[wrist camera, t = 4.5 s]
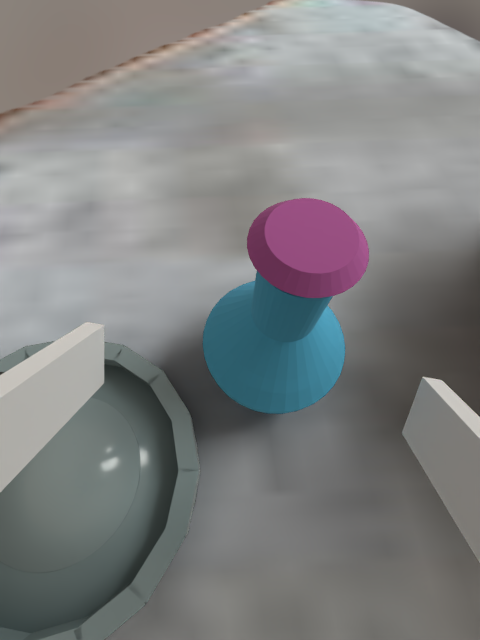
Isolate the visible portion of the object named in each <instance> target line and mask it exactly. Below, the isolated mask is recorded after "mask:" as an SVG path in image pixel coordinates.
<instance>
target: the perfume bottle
mask: <svg viewBox="0 0 480 640" xmlns="http://www.w3.org/2000/svg"><path fill="white" fill-rule="evenodd" d="M247 249H248V253H249V257H250V259H251V261H252V263H253V265H254V267H255V268H256V270H257V273H256V280H255V281H252V282H249V283H246V284H243V285H241V286H239V287H237V288H235V289H233V290H231V291H230V292H229V293H227V294H226V295H225V296H224V297H222V298H221V299H220V300H219V302H218V303H217V304H216V305H215V306H214V308H213V309H212V311H211V313H210V315H209V317H208V319H207V321H206V325H205V328H204V332H203V350H204V357H205V360H206V363H207V366H208V368H209V371H210V373H211V375H212V376H213V378H214V379H215V381H216V383H217V384H218V386H219V387H220V388H221V389H222V390H223V391H224V392H225V393H226V394H227V395H228V396H229V397H230V398H231V399H233V400H234V401H236V402H237V403H239V404H240V405H242V406H245V407H247V408H249V409H251V410H254V411H258V412H263V413H267V414H284V413H289V412H294V411H298V410H300V409H303V408H305V407H308V406H310V405H312V404H314V403H315V402H317V401H318V400H320V399H321V398H322V397H324V396H325V395H326V394H327V393H328V392H329V391H330V389H331V388H332V387H333V386H334V385H335V383H336V381H337V379H338V377H339V376H340V374H341V371H342V367H343V364H344V358H345V343H344V336H343V333H342V330H341V327H340V324H339V322H338V320H337V318H336V317H335V315H334V313H333V312H332V310H331V309H330V308H329V307H328V306H327V305H328V303H329V302H330V300H331V298H332V297H333V296H334V295H337V294H340V293H343V292H345V291H346V290H348V289H349V288H351V287H353V286H354V285H355V284H356V283H357V282H358V281H359V280H360V279H361V277H362V276H363V274H364V272H365V271H366V268H367V265H368V261H369V249H368V244H367V241H366V238H365V236H364V234H363V232H362V231H361V229H360V228H359V226H358V225H357V224H356V223H355V222H354V221H353V220H352V219H351V218H350V217H349V216H348V215H347V214H346V213H345V212H344V211H342V210H341V209H340V208H338V207H337V206H335V205H333V204H331V203H328V202H325V201H322V200H317V199H310V198H302V199H294V200H288V201H284V202H280V203H277V204H275V205H273V206H271V207H269V208H267V209H266V210H264V211H263V212H262V213H260V214H259V216H258V217H257V218H256V219H255V220H254V222H253V223H252V225H251V227H250V229H249V233H248V237H247Z"/></svg>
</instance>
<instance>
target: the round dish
mask: <svg viewBox="0 0 480 640" xmlns="http://www.w3.org/2000/svg"><path fill="white" fill-rule="evenodd" d="M53 342H55V341H52V342H47V343H42V344H36V345H31V346H26V347H23V348H21V349H19V350H17V351H16V352H14V353H12V354H10V355H8V356H6V357H4V358H3V359H1V360H0V372H6V371H8V370H10V369H11V368H13V367H14V366H16V365H18V364H19V363H21V362H23V361H24V360H26V359H27V358H29V357H31V356H32V355H34V354H36V353H37V352H39V351H40V350H42V349H44V348H45V347H47V346H48V345H50V344H52V343H53ZM199 470H200V463H199V457H198V448H197V441H196V437H195V432H194V427H193V421H192V416H191V414H190V413H189V411H188V409H187V408H186V406H185V405H184V403H183V402H182V400H181V398H180V397H179V395H178V394H177V392H176V390H175V389H174V387H173V386H172V384H171V383H170V381H169V379H168V378H167V376H166V375H165V373H164V371H163V370H161V369H159V368H158V367H156V366H155V365H153V364H152V363H150V362H149V361H147V360H146V359H144V358H143V357H141V356H140V355H138V354H137V353H135V352H133V351H132V350H130V349H129V348H127V347H126V346H124V345H120V344H114V343H109V342H104V384H103V385H102V386H101V387H100V388H99V389H98V390H97V391H96V392H95V393H94V394H93V395H92V396H91V397H90V398H89V400H88V401H87V402H86V403H85V404H84V405H83V406H82V407H81V408H80V409H79V410H78V411H77V412H76V413H75V414H74V415H73V416H72V417H71V419H70V420H69V421H68V422H67V423H66V424H65V425H64V426H63V427H62V428H61V429H60V430H59V431H58V432H57V433H56V434H55V435H54V436H53V437H52V439H51V440H50V441H49V442H48V443H47V444H46V445H45V446H44V447H43V448H42V449H41V450H40V451H39V452H38V453H37V454H36V455H35V456H34V458H33V459H32V460H31V461H30V462H29V463H28V464H27V465H26V466H25V467H24V468H23V469H22V470H21V471H20V472H19V473H18V474H17V475H16V477H15V478H14V479H13V480H12V481H11V482H10V483H9V484H8V485H7V486H6V487H5V488H4V489H3V490H2V491H1V492H0V640H105V639H106V638H107V637H108V636H109V635H110V634H112V633H113V632H114V631H115V630H116V629H118V628H119V627H120V626H121V625H122V624H123V623H125V622H126V621H127V620H128V619H129V618H131V617H132V616H133V615H134V614H135V613H136V612H138V611H139V610H140V609H141V608H142V607H144V606H145V605H146V603H147V602H148V600H149V599H150V597H151V595H152V594H153V592H154V590H155V589H156V587H157V585H158V584H159V582H160V580H161V578H162V577H163V575H164V573H165V572H166V570H167V568H168V566H169V565H170V563H171V562H172V560H173V558H174V556H175V554H176V553H177V551H178V549H179V548H180V546H181V544H182V543H183V541H184V539H185V537H186V536H187V534H188V532H189V527H190V522H191V517H192V512H193V508H194V505H195V501H196V494H197V487H198V481H199V476H200V471H199Z"/></svg>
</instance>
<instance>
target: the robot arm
mask: <svg viewBox="0 0 480 640" xmlns="http://www.w3.org/2000/svg"><path fill="white" fill-rule="evenodd" d="M103 384H104V325H101V324H95V323H89V322H86V323H84V324H83V325H81V326H79V327H78V328H76V329H74V330H73V331H71V332H70V333H68V334H66V335H65V336H63V337H61V338H60V339H58V340H57V341H55V342H53V343H52V344H50V345H48V346H47V347H45V348H44V349H42V350H40V351H39V352H37V353H36V354H34V355H32V356H31V357H29V358H27V359H26V360H24V361H23V362H21V363H19V364H18V365H16V366H14V367H13V368H11V369H10V370H8V371H6V372H0V492H1V491H2V490H3V489H4V488H5V487H6V486H7V485H8V484H9V483H10V482H11V481H12V480H13V479H14V478H15V477H16V475H17V474H18V473H19V472H20V471H21V470H22V469H23V468H24V467H25V466H26V465H27V464H28V463H29V462H30V461H31V460H32V459H33V458H34V456H35V455H36V454H37V453H38V452H39V451H40V450H41V449H42V448H43V447H44V446H45V445H46V444H47V443H48V442H49V441H50V440H51V439H52V437H53V436H54V435H55V434H56V433H57V432H58V431H59V430H60V429H61V428H62V427H63V426H64V425H65V424H66V423H67V422H68V421H69V420H70V419H71V417H72V416H73V415H74V414H75V413H76V412H77V411H78V410H79V409H80V408H81V407H82V406H83V405H84V404H85V403H86V402H87V401H88V400H89V398H90V397H91V396H92V395H93V394H94V393H95V392H96V391H97V390H98V389H99V388H100V387H101V386H102V385H103ZM402 434H403V436H404V438H405V439H406V441H407V443H408V444H409V446H410V448H411V449H412V451H413V453H414V454H415V456H416V458H417V459H418V461H419V463H420V464H421V466H422V468H423V469H424V471H425V473H426V474H427V476H428V478H429V479H430V481H431V483H432V484H433V486H434V488H435V489H436V491H437V493H438V495H439V496H440V498H441V500H442V501H443V503H444V505H445V506H446V508H447V510H448V511H449V513H450V515H451V516H452V518H453V520H454V521H455V523H456V525H457V526H458V528H459V530H460V531H461V533H462V535H463V536H464V538H465V540H466V541H467V543H468V545H469V546H470V548H471V550H472V551H473V553H474V555H475V556H476V558H477V560H478V561H479V563H480V417H479V416H478V415H477V414H476V413H475V412H474V411H473V410H472V409H471V408H470V407H469V406H468V405H467V404H466V403H465V402H464V401H463V400H462V399H461V398H460V397H459V396H458V395H457V394H456V393H455V392H453V391H452V390H451V389H450V388H449V387H448V386H447V385H446V384H445V383H444V382H443V381H442V380H439V379H433V378H427V377H422V380H421V382H420V385H419V388H418V390H417V393H416V396H415V399H414V401H413V404H412V407H411V409H410V412H409V415H408V418H407V420H406V423H405V426H404V428H403V431H402Z"/></svg>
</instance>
